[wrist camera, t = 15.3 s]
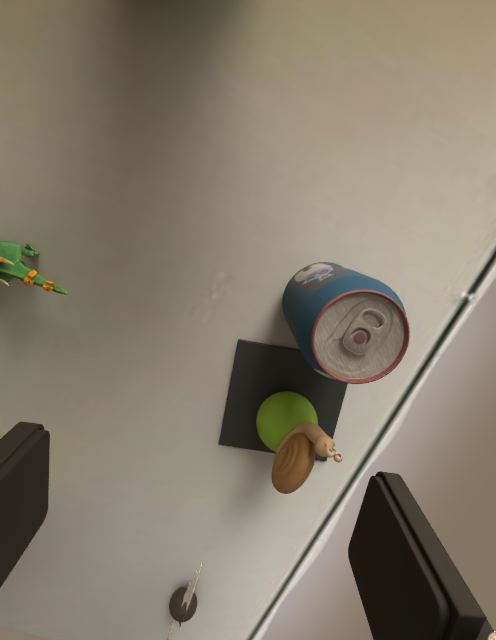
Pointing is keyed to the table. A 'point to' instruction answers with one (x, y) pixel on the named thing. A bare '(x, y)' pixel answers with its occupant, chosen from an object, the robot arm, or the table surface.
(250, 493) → the table surface
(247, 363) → the slate mat
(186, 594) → the bat toy
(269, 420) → the snail figurine
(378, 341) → the soda can
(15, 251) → the figurine
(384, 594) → the robot arm
